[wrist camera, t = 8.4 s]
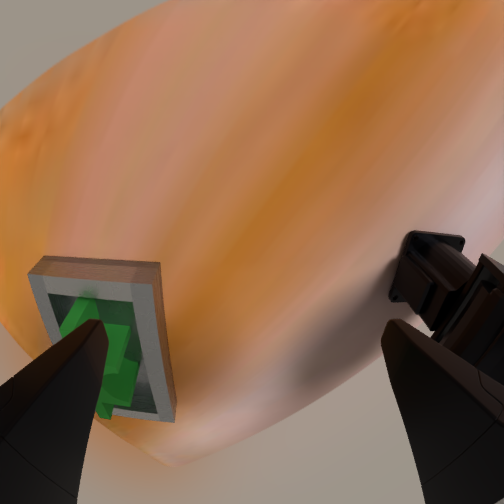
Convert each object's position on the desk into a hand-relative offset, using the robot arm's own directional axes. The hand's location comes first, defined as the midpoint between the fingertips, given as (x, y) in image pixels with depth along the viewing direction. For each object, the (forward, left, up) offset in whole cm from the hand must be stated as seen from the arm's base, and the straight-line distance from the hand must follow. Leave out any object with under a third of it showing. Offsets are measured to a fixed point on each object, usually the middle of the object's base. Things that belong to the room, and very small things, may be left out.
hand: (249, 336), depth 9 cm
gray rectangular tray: (+10, +13, -12) cm, 20 cm away
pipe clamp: (+10, +13, -11) cm, 20 cm away
